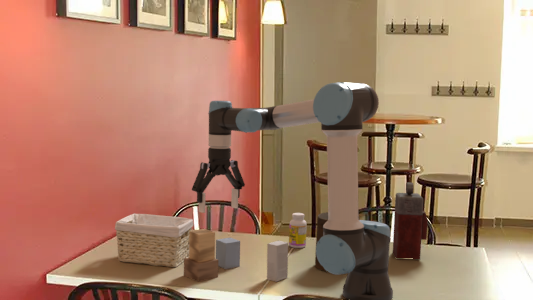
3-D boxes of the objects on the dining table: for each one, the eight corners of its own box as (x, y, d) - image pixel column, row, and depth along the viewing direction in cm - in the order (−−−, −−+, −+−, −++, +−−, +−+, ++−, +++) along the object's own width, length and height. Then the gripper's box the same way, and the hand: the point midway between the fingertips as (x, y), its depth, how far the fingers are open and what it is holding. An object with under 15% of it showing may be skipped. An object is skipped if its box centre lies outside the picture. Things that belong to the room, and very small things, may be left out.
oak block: (214, 259, 220) (215, 232, 219) (199, 262, 216) (199, 234, 215) (204, 255, 225) (204, 228, 224) (189, 258, 221) (189, 231, 220)
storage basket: (194, 257, 243) (195, 217, 242) (178, 269, 228) (178, 227, 226) (132, 251, 249) (133, 212, 247) (113, 263, 233) (113, 221, 232)
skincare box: (277, 275, 224) (278, 240, 223) (287, 278, 222) (288, 242, 220) (266, 279, 220) (267, 243, 218) (276, 282, 217) (277, 245, 216)
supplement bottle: (285, 244, 265) (286, 212, 263) (300, 243, 267) (301, 211, 266) (293, 249, 258) (294, 216, 257) (308, 247, 261) (310, 215, 260)
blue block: (239, 266, 234) (240, 241, 232) (225, 269, 230) (225, 243, 229) (229, 262, 238) (230, 237, 237) (215, 265, 234) (216, 239, 233)
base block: (218, 277, 221) (218, 259, 220) (198, 282, 215) (198, 263, 215) (203, 271, 227) (203, 254, 226) (183, 276, 221) (184, 258, 221)
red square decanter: (426, 260, 248) (430, 185, 245) (395, 259, 248) (399, 184, 245) (422, 253, 257) (426, 181, 253) (392, 252, 257) (396, 180, 254)
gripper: (242, 144, 235) (240, 204, 237) (181, 147, 219) (181, 212, 221) (255, 146, 229) (254, 207, 232) (194, 150, 213) (194, 216, 216)
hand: (218, 210), depth 227 cm, fingers open, 13 cm apart
